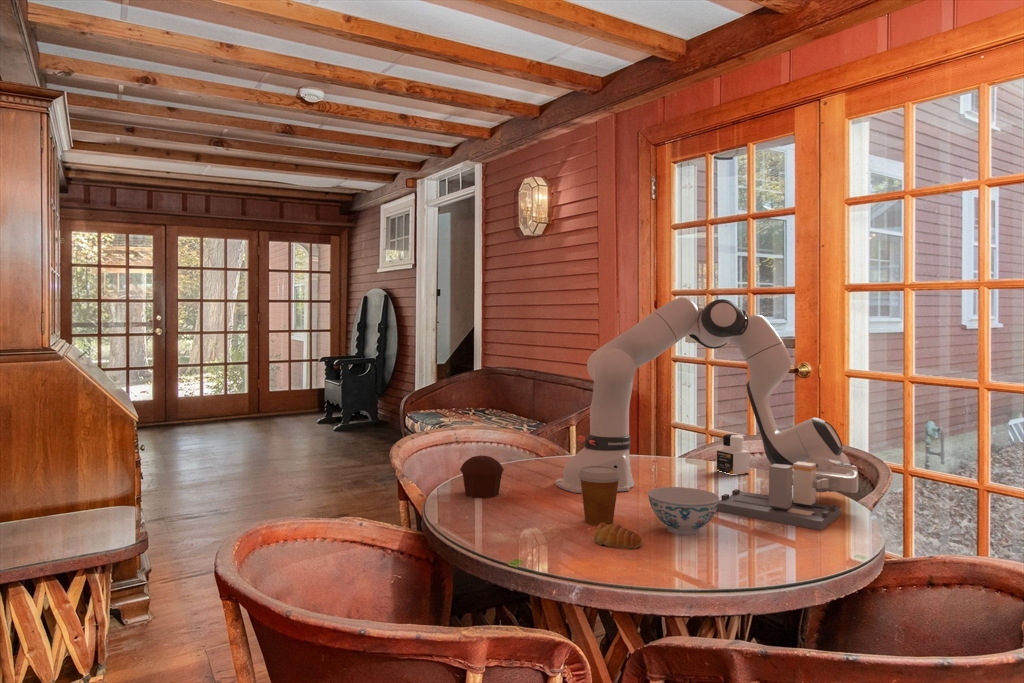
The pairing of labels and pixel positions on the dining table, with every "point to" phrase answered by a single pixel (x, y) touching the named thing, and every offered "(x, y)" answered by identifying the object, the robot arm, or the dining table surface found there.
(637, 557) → the dining table surface
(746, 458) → the medicine bottle
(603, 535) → the pastry
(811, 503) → the block
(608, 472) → the disposable coffee cup
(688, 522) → the chinaware
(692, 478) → the dining table surface
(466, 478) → the muffin
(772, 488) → the fader
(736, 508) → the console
